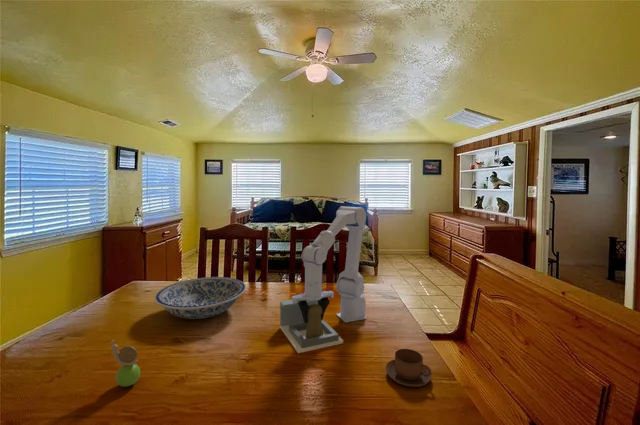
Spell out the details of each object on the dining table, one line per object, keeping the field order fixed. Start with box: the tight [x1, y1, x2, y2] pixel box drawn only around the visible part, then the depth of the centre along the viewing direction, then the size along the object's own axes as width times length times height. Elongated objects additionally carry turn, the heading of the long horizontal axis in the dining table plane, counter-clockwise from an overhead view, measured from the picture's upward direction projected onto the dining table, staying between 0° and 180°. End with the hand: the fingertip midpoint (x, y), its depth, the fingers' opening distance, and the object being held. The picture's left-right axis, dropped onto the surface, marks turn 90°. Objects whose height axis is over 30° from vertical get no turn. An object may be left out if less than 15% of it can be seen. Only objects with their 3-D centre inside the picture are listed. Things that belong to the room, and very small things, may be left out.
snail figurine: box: [110, 339, 141, 388], centre depth 80 cm, size 5×6×12 cm
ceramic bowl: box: [154, 276, 247, 320], centre depth 126 cm, size 34×34×10 cm
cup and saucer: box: [385, 348, 432, 388], centre depth 85 cm, size 12×12×6 cm
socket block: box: [279, 298, 344, 354], centre depth 108 cm, size 16×19×10 cm
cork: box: [306, 304, 323, 339], centre depth 104 cm, size 6×6×11 cm
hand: (313, 320), depth 105 cm, fingers closed on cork, 5 cm apart
